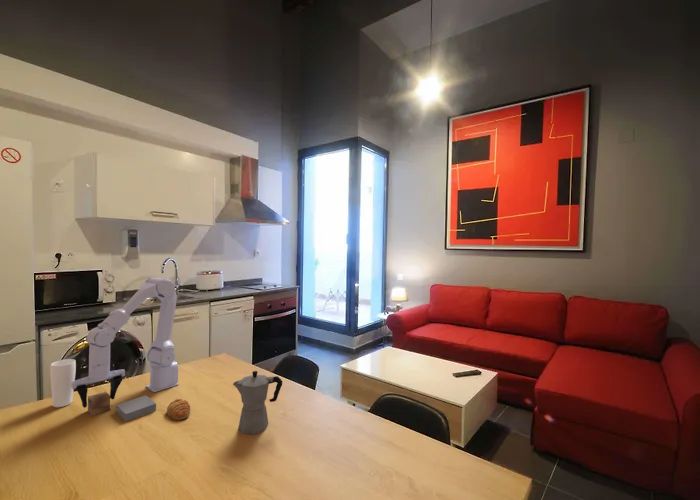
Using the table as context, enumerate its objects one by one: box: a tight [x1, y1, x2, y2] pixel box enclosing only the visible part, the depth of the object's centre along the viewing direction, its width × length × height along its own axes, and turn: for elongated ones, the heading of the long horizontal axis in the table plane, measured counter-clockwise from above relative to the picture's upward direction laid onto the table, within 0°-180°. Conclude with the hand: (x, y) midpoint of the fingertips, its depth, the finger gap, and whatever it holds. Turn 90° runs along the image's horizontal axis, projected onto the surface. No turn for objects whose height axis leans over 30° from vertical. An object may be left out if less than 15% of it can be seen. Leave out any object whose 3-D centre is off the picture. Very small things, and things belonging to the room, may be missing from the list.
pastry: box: [166, 398, 191, 421], centre depth 108 cm, size 9×7×4 cm
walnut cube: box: [87, 391, 111, 417], centre depth 109 cm, size 5×5×5 cm
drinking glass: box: [49, 358, 77, 408], centre depth 112 cm, size 7×7×15 cm
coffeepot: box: [232, 370, 283, 435], centre depth 103 cm, size 15×9×18 cm, turn 107°
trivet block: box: [115, 395, 157, 423], centre depth 109 cm, size 9×9×3 cm
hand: (98, 402), depth 109 cm, fingers open, 7 cm apart
